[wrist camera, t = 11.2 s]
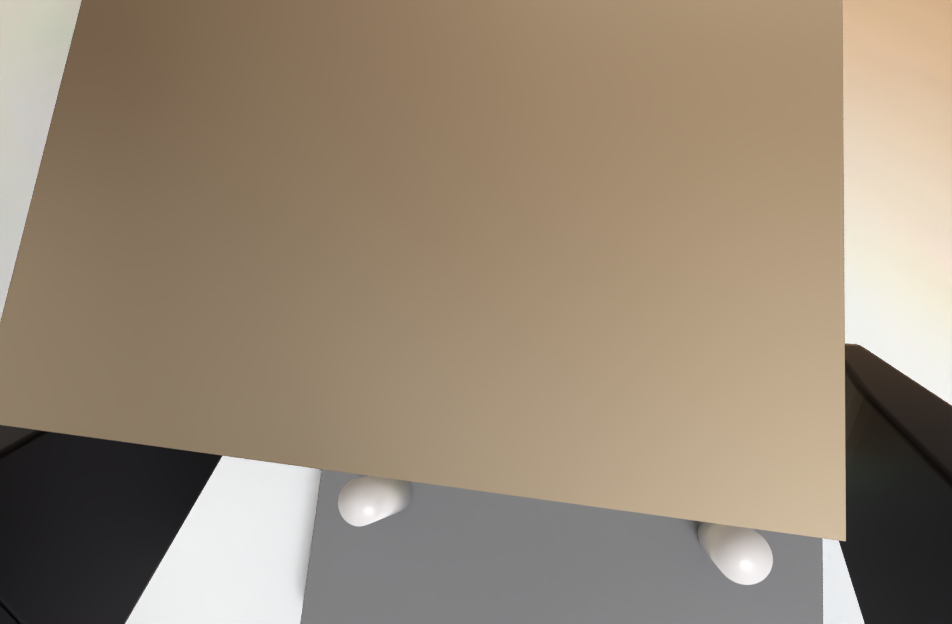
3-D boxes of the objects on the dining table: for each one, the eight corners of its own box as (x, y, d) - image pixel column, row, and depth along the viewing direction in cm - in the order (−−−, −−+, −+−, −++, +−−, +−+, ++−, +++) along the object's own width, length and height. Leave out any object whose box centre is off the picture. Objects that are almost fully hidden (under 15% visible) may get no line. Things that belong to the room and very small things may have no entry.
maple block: (642, 446, 16) (844, 541, 3) (467, 427, 17) (-25, 421, 4) (652, 272, 17) (840, -339, 3) (484, 264, 18) (137, -216, 5)
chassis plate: (809, 721, 15) (869, 806, 12) (314, 624, 18) (248, 668, 15) (807, 84, 18) (853, 6, 15) (386, 97, 21) (345, 35, 18)
